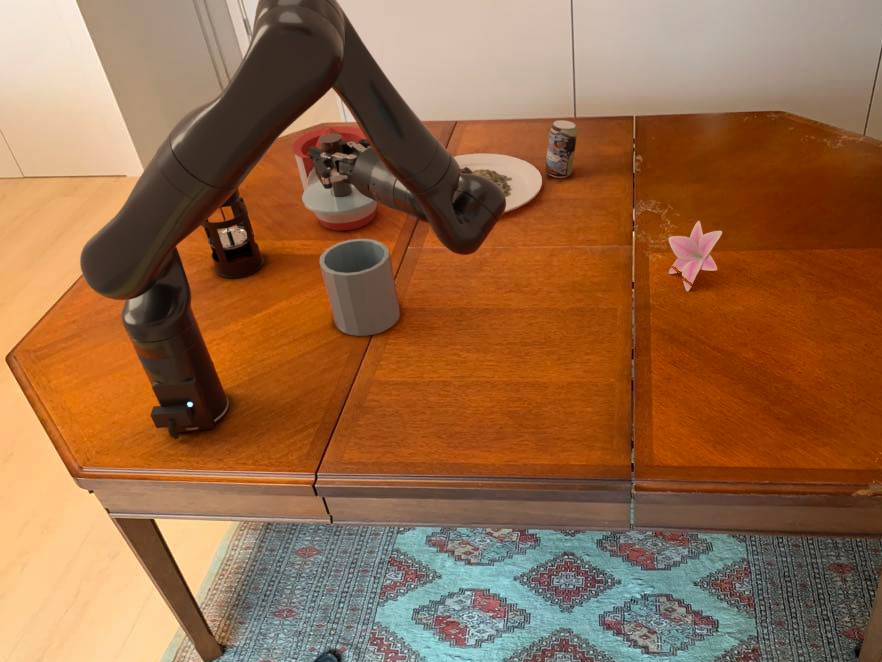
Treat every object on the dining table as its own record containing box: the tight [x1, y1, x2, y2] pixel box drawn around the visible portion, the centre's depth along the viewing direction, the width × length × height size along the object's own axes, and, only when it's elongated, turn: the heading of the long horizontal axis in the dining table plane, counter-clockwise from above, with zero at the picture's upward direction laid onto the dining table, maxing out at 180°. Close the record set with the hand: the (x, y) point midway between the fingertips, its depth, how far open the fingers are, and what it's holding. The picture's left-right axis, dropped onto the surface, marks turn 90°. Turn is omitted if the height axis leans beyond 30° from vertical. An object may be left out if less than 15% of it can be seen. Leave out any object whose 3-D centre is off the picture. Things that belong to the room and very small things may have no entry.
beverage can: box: [544, 119, 578, 179], centre depth 180 cm, size 6×7×12 cm
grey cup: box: [319, 238, 401, 337], centre depth 141 cm, size 12×12×12 cm
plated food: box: [453, 153, 543, 214], centre depth 178 cm, size 30×30×3 cm
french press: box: [200, 186, 265, 280], centre depth 152 cm, size 12×9×23 cm
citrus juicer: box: [291, 125, 378, 231], centre depth 165 cm, size 16×17×20 cm
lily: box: [668, 220, 723, 292], centre depth 149 cm, size 12×12×10 cm
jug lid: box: [301, 134, 376, 215], centre depth 126 cm, size 13×13×10 cm
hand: (322, 148), depth 126 cm, fingers closed on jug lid, 3 cm apart
